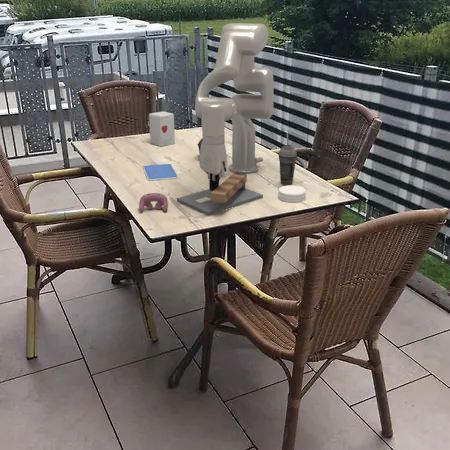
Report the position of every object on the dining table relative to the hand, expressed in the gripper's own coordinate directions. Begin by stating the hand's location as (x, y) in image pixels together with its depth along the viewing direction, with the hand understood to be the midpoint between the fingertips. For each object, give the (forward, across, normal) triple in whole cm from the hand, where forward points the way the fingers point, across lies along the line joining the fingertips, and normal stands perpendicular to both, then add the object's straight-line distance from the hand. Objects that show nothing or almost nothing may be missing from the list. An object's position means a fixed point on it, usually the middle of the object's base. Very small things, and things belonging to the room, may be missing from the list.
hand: (214, 190), depth 196 cm
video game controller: (+6, -10, -19) cm, 22 cm away
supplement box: (+7, -82, +34) cm, 89 cm away
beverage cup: (+6, +1, +36) cm, 36 cm away
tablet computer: (+7, -44, +6) cm, 45 cm away
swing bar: (+1, +2, +6) cm, 7 cm away
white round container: (+6, +13, +26) cm, 30 cm away
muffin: (+6, -46, +35) cm, 58 cm away
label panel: (+6, -2, +5) cm, 8 cm away
